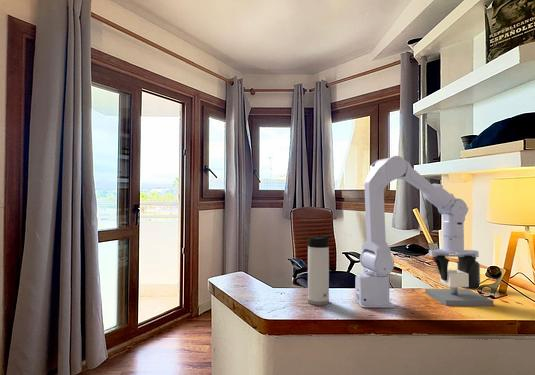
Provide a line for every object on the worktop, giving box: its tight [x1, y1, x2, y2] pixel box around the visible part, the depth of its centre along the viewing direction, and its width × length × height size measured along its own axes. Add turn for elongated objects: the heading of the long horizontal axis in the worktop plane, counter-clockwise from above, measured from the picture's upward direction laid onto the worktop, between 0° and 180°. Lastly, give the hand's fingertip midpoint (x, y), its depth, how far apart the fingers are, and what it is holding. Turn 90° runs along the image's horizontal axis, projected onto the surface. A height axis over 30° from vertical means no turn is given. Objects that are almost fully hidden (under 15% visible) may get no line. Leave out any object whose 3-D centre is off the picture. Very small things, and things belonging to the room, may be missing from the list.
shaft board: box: [424, 286, 494, 307], centre depth 99 cm, size 14×12×6 cm
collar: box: [439, 269, 469, 288], centre depth 99 cm, size 6×6×4 cm
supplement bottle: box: [457, 257, 481, 290], centre depth 114 cm, size 7×7×12 cm
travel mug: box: [307, 234, 331, 306], centre depth 96 cm, size 6×7×20 cm
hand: (453, 279), depth 99 cm, fingers closed on collar, 6 cm apart
